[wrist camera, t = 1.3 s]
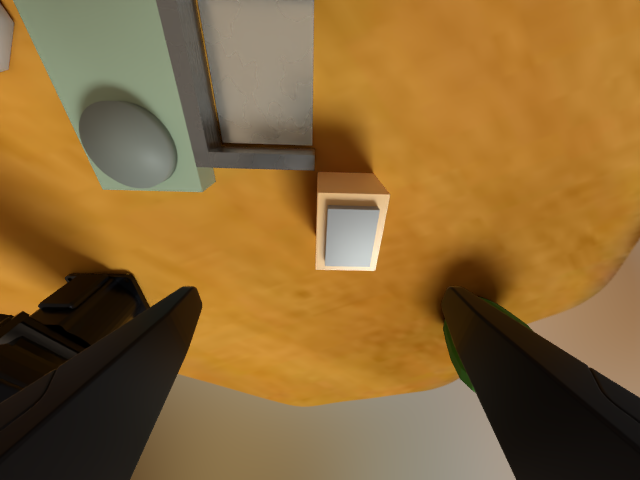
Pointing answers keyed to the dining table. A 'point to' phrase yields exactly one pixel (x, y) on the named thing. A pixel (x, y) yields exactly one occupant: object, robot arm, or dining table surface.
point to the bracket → (244, 79)
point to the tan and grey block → (349, 220)
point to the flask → (5, 38)
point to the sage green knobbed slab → (117, 90)
